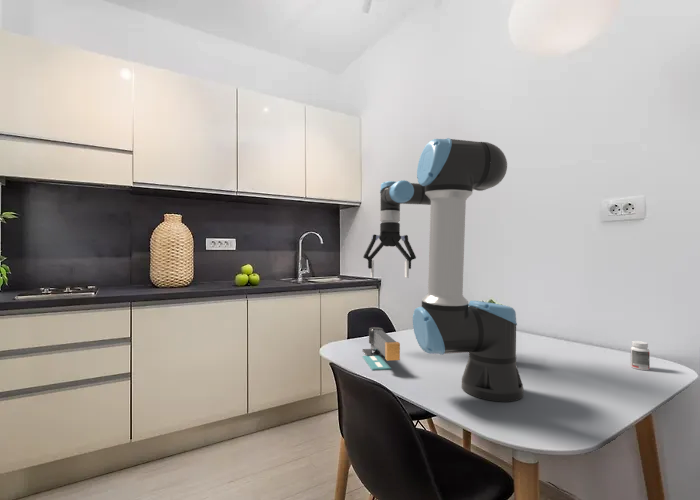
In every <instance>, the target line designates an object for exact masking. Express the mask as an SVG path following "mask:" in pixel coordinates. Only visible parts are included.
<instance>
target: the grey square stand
mask: <svg viewBox="0 0 700 500" xmlns="http://www.w3.org/2000/svg"><path fill="white" fill-rule="evenodd" d="M362 352H364V353H365V354H364V353H363V354H364V356H381V357H382V358H385V356H384V355H383V354H382V353H381V352H380V351H379V350H378V349H377V348H376V347H375V346H374V345H373V344H370V348H362Z"/></svg>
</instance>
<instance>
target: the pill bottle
mask: <svg viewBox="0 0 700 500" xmlns="http://www.w3.org/2000/svg"><path fill="white" fill-rule="evenodd" d="M648 348H649V343H648V342H646V341H641V340H632V341H631V347H630V367H631V368H633V369H635V370H639V371H649V370H650V364H651V363H650V360H651V359H650V350H649V349H648Z"/></svg>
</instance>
